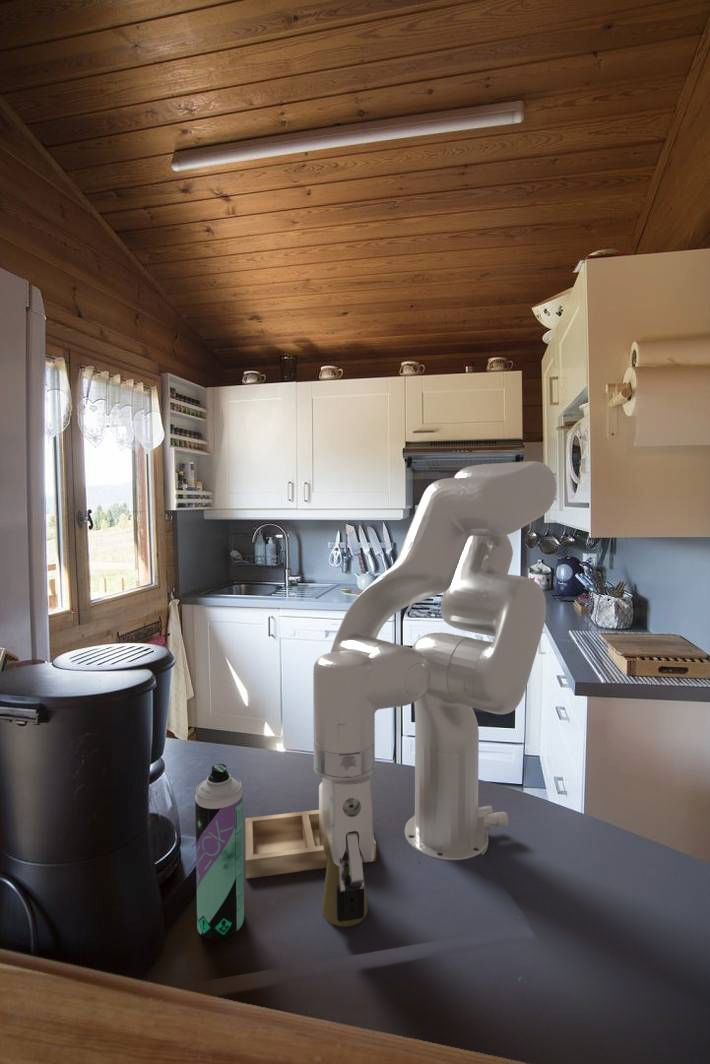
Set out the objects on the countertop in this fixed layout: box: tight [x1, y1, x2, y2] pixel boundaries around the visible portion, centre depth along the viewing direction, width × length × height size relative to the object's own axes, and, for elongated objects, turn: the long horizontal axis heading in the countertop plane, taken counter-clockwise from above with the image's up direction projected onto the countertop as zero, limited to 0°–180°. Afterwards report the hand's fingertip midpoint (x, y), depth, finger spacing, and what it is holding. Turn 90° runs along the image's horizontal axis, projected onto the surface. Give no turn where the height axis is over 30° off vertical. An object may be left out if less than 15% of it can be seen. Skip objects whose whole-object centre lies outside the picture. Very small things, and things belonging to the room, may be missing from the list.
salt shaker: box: [318, 781, 326, 846], centre depth 80 cm, size 5×5×10 cm
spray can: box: [194, 763, 245, 940], centre depth 65 cm, size 6×6×20 cm
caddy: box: [245, 809, 377, 879], centre depth 79 cm, size 18×10×4 cm, turn 102°
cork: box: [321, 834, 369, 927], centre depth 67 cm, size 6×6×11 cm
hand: (344, 895), depth 67 cm, fingers open, 6 cm apart
